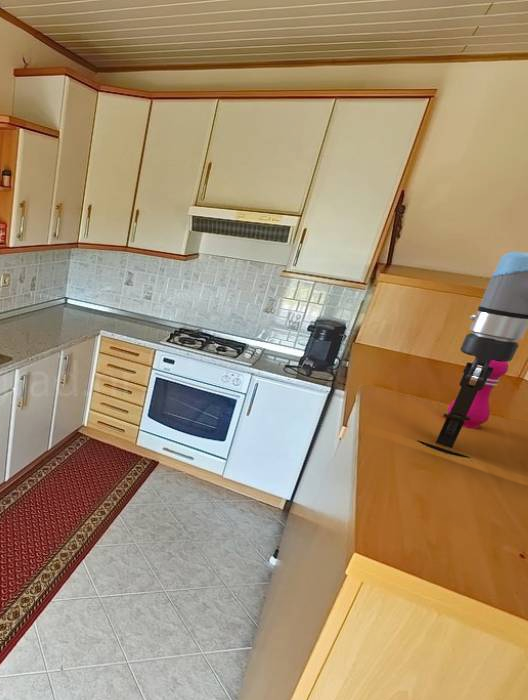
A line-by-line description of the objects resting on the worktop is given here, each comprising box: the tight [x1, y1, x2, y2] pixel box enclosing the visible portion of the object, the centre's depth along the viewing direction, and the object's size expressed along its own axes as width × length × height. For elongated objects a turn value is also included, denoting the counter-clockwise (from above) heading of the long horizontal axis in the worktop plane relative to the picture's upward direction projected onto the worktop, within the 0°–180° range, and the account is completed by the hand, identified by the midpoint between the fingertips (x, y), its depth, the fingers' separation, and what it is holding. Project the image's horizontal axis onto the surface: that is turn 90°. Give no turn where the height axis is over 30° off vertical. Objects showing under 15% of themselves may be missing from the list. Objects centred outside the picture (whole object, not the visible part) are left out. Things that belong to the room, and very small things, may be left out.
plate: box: [416, 439, 472, 458], centre depth 105 cm, size 11×11×2 cm
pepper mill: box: [447, 360, 509, 429], centre depth 112 cm, size 7×7×20 cm
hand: (442, 447), depth 100 cm, fingers closed
